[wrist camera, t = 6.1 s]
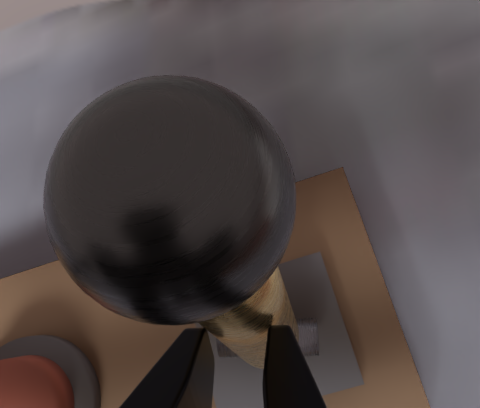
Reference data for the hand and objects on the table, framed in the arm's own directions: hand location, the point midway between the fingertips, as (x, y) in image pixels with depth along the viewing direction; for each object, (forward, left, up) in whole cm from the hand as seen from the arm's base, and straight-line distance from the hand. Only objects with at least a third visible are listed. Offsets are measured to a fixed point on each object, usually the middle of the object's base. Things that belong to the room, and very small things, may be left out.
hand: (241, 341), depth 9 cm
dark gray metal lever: (0, 0, -4) cm, 5 cm away
